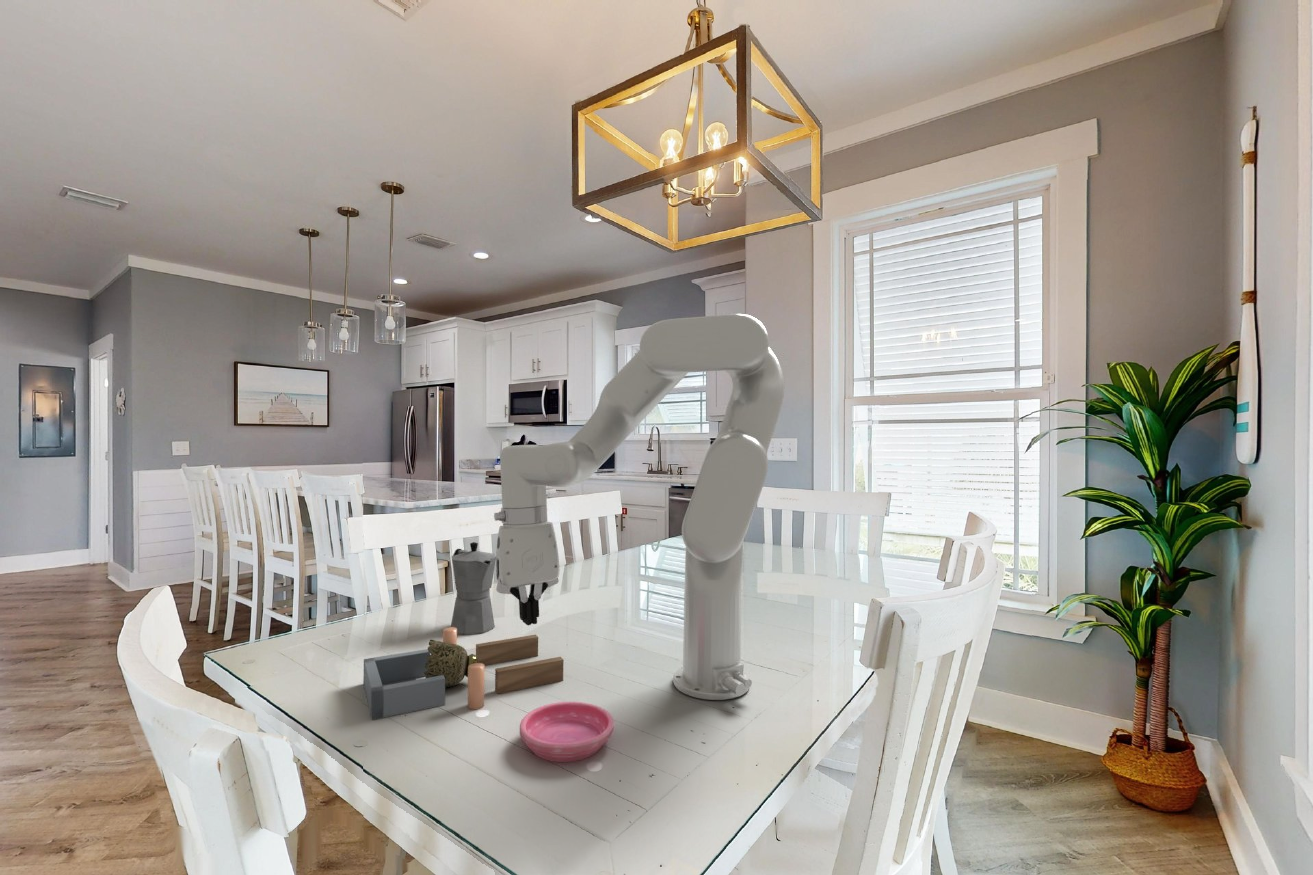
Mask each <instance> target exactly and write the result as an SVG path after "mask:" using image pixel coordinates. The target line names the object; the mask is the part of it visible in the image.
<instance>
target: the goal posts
mask: <svg viewBox="0 0 1313 875" xmlns="http://www.w3.org/2000/svg"><path fill="white" fill-rule="evenodd" d="M442 642H447V643H452V644H456V645H458V634H457V628H455V627H451V626H449V627H444V628H443V629H442ZM485 666H486V665H484V664H482V663H474V664H471V665H469V666H468V677H467V709H468V710H480V709H482V708H484V706H485V682H486V681H485V677H486V676H485V675H486V674H485V672H486V670H485V669H486V667H485Z"/></svg>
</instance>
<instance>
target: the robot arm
mask: <svg viewBox="0 0 1313 875" xmlns="http://www.w3.org/2000/svg"><path fill="white" fill-rule="evenodd" d="M769 337H770V336H769V334H768V331H767V329H766V327H765V326H764V324H763V323H762V322H761V321H760V320H758V319H757V318H755V317H753V316H752V315H749V314H742V313H729V314H727V313H726V314H719V315H718V314H717V315H716V314H715V315H704V316H695V317H692V316H691V317H682V318H681V317H680V318H669V319H662V320H660V321H657V322H655V323H653V324H651V325H650V326H649V327H647V328H646V330H645V331H644V332H643V334H642V336H641V337H640V342H639V350H638V351H637V352H636V354H634V355H633V357H632V358H630V359H629V361H628V362H627V363H626V364H625V365H624V366H623V367H622V368H621V369H620V370H619V371H618V372H617V373H616V375H614V376H613V378H611V380H610V381H609V382H608V383H606V385H605V386H604V388H603V389H602V391H601V393H600V396H599V399H598V400H599V401H598V404H597V406H596V409H595V410H594V412H593V414H592V415H591V416H590V417H589V419H588V420H587V421H586V422H585V424H584V425H583V426H582V427H581V428H580V429H579V430H578V431H577V432H576V433H575V434H574V435H573V436H572V437H571V438H570V439H569V440H568V441H561V442H554V443H549V444H544V445H543V444H542V445H538V444H519V445H508V446H505V447H503V448H502V449H501V450H500V451H501V452H500V456H499V459H500V460H499V463H500V465H499V466H500V484H501V485H500V486H501V489H500V490H501V507H500V508H501V509H500V511H498V512H494V515H493V518H494V521H496V522H497V521H499V522H501V523H502V525H500V526H499V529H498V532H497V533H498V534H497V542H496V553H495V554H496V555H495V556H496V561H495V573H496V574H495V575H496V576H495V577H496V579H497V583H496V588H495V589H496V590H495V591H496V592H497V593H499V594H503V595H512V596H513V597H514V598H516V599H517V600H518V609H519V610H518V612H519V614H518V615H519V620H521V621H522V623H524V624H525V625H526V626H532V625H537V624H538V618H539V617H540V604H539V603H540V602H539V601H540V600H541V598H542V596H543V594H544V592H545V591H546V590H547V589H548V588H551V587H553V586H555V585H557V584H558V583H559V582H560V580H559V577H560V570H561V569H560V567H561V566H560V558H559V550H558V544H557V538H556V532H555V528H554V524H553V522H551V521H548V506H547V505H548V501H547V498H548V497H547V487H553V488H554V487H555V488H566V487H569V486H573V485H576V484H579V483H582V482H584V481H586V480H588V479H589V478H590V477H591V476H592V475H593V474H595V473H596V471H598V470H599V468H600V467H601V466H603V464H604V463H605V462H607V460H608V459H609V458H610V457H611V456H612V455H613V454H614V453H615V452H616V451H617V450H618V449H619V448H620V447H621V445H622V444H623V443H624V442H625V440H626V439H627V438H628V437H630V435H631V434H632V433H633V432H634V431H635V430H636V429H637V427H638V426H639V425H640V423H641V422H642V421H644V419H646V417H647V416H648V415H649V414H650V413H651V412H652V411H653V410H654V409H655V407H656V406H658V404H660V402H662V400H663V399H664V398H666V397H667V395H668V394H669V393H670V392H671V391H673V389H675V387H676V386H677V385H678V384H679V383H680V382H681V381H682V380H683V379H684V378H685V377H686V375H687V374H688V373H708V372H720V371H723V372H724V371H725V372H726V373H727V374H728V375H729V376H730V378H731V381H732V390H731V394H730V397H729V400H728V403H727V404H726V405H727V406H726V409H725V413H724V417H723V418H722V422H721V425H720V427H719V430H718V433H717V435H716V437H715V439H714V440H713V442H712V443H710V446H709V447H708V450H707V451H706V454H705V456H704V459H703V463H702V465H701V468H700V471H699V474H698V477H697V479H696V483H695V486H694V489H693V492H692V494H691V497H690V500H689V503H688V506H687V509H686V512H685V514H684V517H683V520H682V525H681V538H682V541H683V544H684V546H685V558H684V559H685V560H684V562H685V564H684V565H685V566H684V593H683V599H684V600H683V643H682V644H683V645H682V646H683V649H682V652H683V653H682V654H683V655H682V656H683V658H682V667H680V668H679V669H677V670H676V671H675V672H674V673H673V680H672V681H673V682H672V683H673V685H674V686H675V688H676V689H677V690H678V691H679V692H681V693H683V694H684V695H687V696H689V697H693V698H697V699H701V700H709V701H724V700H725V701H726V700H732V699H735V698H739V697H741V696H742V695H744V694H746V693H747V692H748V691H749V690H750V687H751V686H752V683H753V682H752V680H751V679H750V678H749V675H747V674H746V673H745V672H744V663H742V662H741V661H742V660H741V656H742V655H741V654H742V651H741V650H742V613H743V612H742V609H743V608H742V607H743V605H742V604H743V566H744V565H743V564H744V561H743V560H744V559H743V558H744V557H743V555H744V552H743V551H744V540H745V537H746V535H747V533H748V530H749V527H750V524H751V521H752V519H753V515H754V513H755V509H756V507H757V505H758V502H759V498H760V496H761V493H762V490H763V487H764V484H765V481H766V478H767V473H768V471H769V470H768V468H769V459H768V451H769V447H770V444H771V442H772V438H773V435H774V432H775V429H776V426H777V422H778V419H779V416H780V413H781V409H782V405H783V401H784V395H785V380H784V379H785V378H784V374H783V370H782V367H781V364H780V362H779V360H778V358H777V356H776V355H775V353H774V351H773V350H772V348H770V346H769V345H770V340H769ZM528 585H529V594H528V591H527V588H526V586H528Z"/></svg>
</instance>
